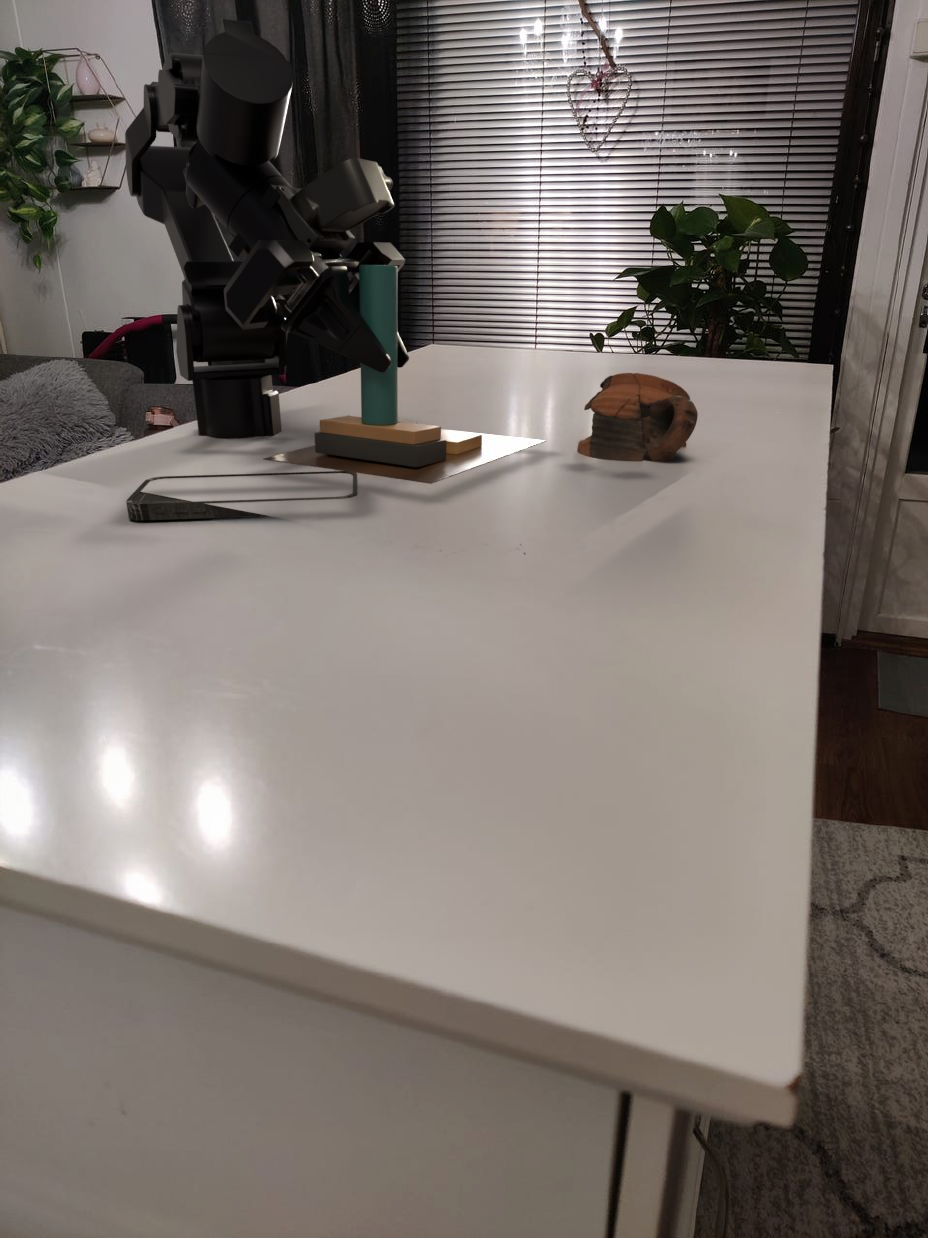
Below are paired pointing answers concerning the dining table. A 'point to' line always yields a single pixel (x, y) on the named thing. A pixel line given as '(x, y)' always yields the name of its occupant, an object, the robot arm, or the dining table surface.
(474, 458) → the tray
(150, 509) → the black flat open frame
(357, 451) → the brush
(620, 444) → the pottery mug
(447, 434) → the tan flat wooden slab
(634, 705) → the dining table surface
